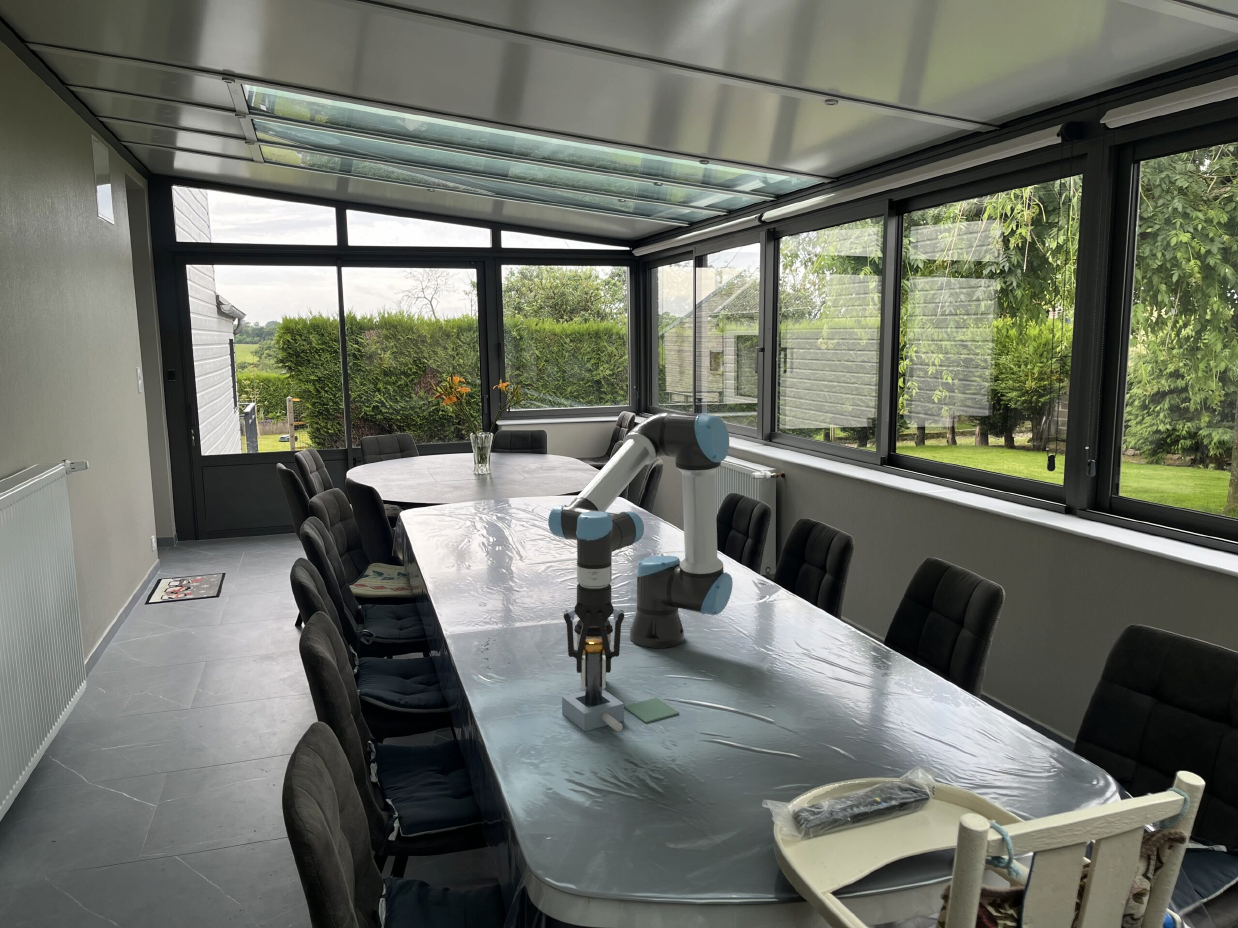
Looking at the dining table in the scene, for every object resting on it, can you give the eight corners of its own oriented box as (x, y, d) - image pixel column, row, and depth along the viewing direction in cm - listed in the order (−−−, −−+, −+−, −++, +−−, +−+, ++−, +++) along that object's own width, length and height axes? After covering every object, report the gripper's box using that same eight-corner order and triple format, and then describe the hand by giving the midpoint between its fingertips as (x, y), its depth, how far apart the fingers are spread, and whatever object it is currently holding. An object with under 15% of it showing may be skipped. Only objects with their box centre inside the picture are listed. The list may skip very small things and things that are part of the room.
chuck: (562, 713, 187) (562, 696, 186) (600, 703, 192) (600, 686, 191) (598, 743, 173) (598, 724, 173) (638, 731, 178) (639, 714, 178)
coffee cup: (616, 675, 208) (617, 617, 205) (606, 690, 199) (606, 630, 196) (580, 671, 210) (581, 613, 208) (568, 685, 201) (568, 626, 199)
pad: (623, 707, 190) (623, 705, 190) (656, 699, 195) (656, 697, 195) (645, 723, 182) (645, 721, 182) (679, 713, 187) (679, 712, 187)
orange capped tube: (583, 707, 182) (583, 646, 180) (583, 697, 187) (583, 638, 185) (604, 706, 182) (604, 646, 180) (603, 697, 187) (604, 638, 185)
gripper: (554, 588, 176) (554, 693, 180) (633, 588, 177) (632, 692, 181) (555, 578, 184) (556, 678, 188) (632, 578, 184) (630, 678, 188)
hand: (593, 685), depth 184 cm, fingers closed on orange capped tube, 4 cm apart
